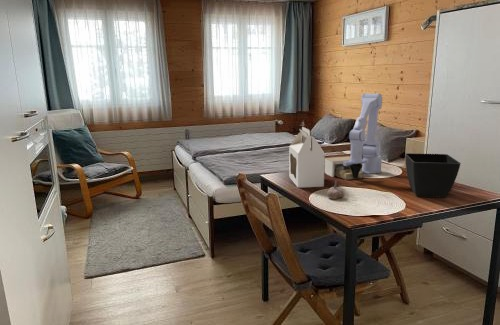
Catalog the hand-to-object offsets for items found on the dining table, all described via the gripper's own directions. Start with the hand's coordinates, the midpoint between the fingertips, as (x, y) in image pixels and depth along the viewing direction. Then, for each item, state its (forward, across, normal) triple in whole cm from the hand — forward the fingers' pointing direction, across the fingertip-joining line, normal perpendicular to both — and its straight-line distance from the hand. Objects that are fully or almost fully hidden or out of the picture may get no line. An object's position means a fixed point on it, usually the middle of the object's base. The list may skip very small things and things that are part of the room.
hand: (355, 177), depth 200 cm
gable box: (+1, +25, -8) cm, 26 cm away
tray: (+1, -1, -7) cm, 7 cm away
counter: (+1, -2, -14) cm, 14 cm away
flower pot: (+1, -14, +35) cm, 38 cm away
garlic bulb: (+1, +27, +22) cm, 35 cm away
